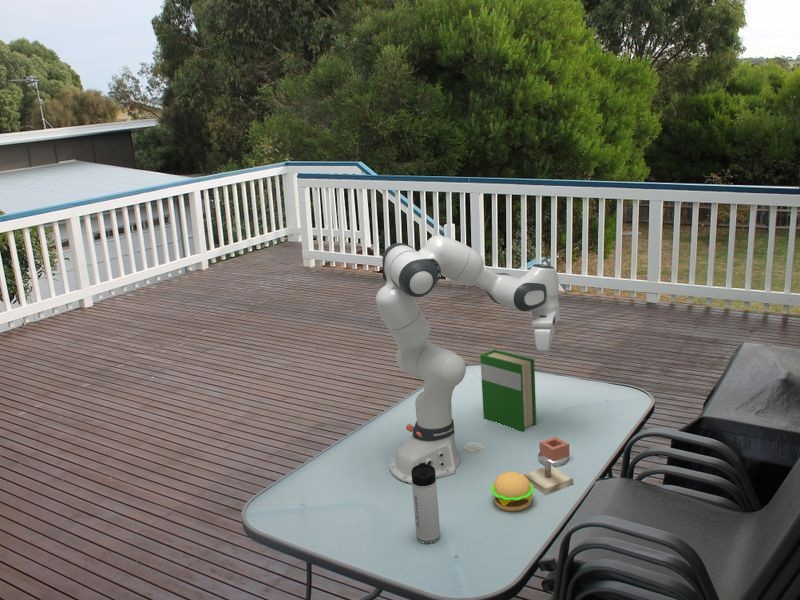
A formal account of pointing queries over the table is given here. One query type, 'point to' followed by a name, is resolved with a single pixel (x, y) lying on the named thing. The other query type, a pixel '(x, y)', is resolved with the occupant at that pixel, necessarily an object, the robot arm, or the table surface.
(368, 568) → the table surface
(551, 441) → the brown square ring block
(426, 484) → the travel mug
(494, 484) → the hamburger
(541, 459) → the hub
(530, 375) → the hardback book
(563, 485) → the stand
